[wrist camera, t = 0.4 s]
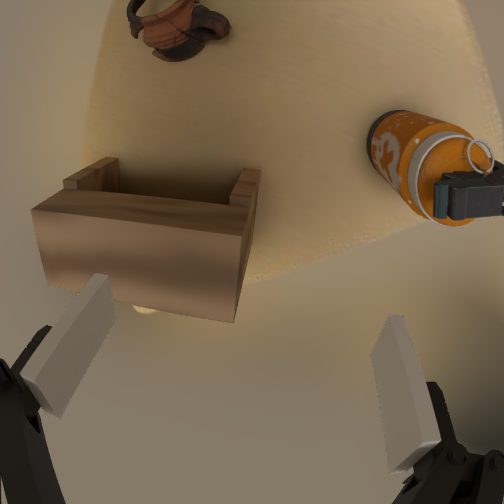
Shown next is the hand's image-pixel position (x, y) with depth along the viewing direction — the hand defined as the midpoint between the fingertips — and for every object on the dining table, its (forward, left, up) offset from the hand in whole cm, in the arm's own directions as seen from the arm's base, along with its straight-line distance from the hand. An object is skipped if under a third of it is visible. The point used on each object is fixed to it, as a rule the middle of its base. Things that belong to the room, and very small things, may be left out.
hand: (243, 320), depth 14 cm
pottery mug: (-15, -11, -28) cm, 34 cm away
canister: (-6, +16, -28) cm, 32 cm away
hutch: (+1, -12, -27) cm, 30 cm away
